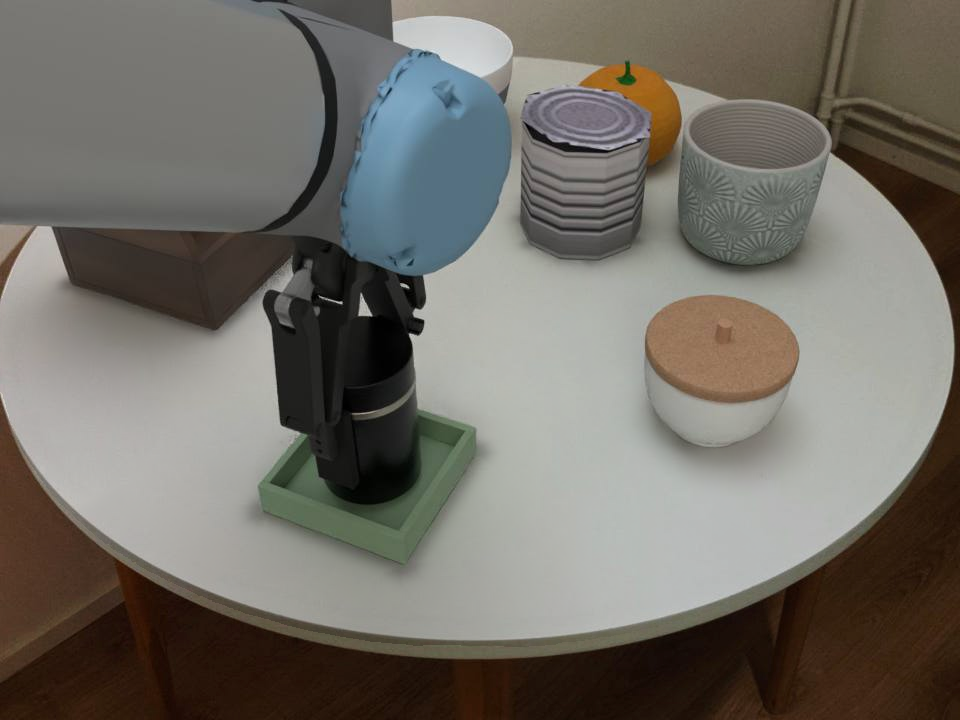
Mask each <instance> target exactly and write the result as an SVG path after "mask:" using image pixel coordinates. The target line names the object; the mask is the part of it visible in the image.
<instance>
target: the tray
mask: <svg viewBox="0 0 960 720" xmlns="http://www.w3.org/2000/svg"><path fill="white" fill-rule="evenodd" d="M417 409H418V423H419V436H420V450H421V472H420V475H419V477H418V479H417V481H416V483H415V484H414V485H413V486H412V487H411V488H410V489H409V490H408V491H407V492H406V493H404V494H403V495H401V496H400V497H398V498H396V499H394V500H391V501H388V502H385V503H381V504H374V505H361V504H354V503H350V502H347V501H345V500H342V499H341V498H339V497H337V496H336V495H335V494H333V493H332V492H331V491H330V490H329V489H328V487H327V486H326V484H325V482H324V480H323V478H320V477H319V475H318V469H317V463H316V458H315V455H314V454H313V453H312V452H311V448H310V442H309V441H310V440H309V436H308V435H306V434H303V433H300V434H299V435H298V436H297V437H296V438H295V440H294V441H293V442H292V444H290V445H289V447H288V448H287V449H286V450H285V451H284V453H283V454H282V456H281V457H280V458H279V459H278V461H277V462H275V464H274V465H273V467H271V469H270V470H269V471H268V472H267V474H266V475H265V476H264V477H263V478H262V480H261V481H260V482H259V484H257V490H258V495H259V499H260V500H259V501H260V503H261V508H262V511H263V512H265V513H268V514H271V515H274V516H275V517H279V518H282V519H284V520H286V521H289V522H291V523H295V524H297V525H300V526H302V527H305V528H308V529H310V530H312V531H315V532H317V533H321V534H323V535H326V536H328V537H331V538H333V539H336V540H339V541H341V542H345V543H346V544H349V545H352V546H355V547H357V548H360V549H363V550H365V551H368V552H371V553H373V554H376V555H378V556H381V557H384V558H386V559H389V560H391V561H394V562H397V563H399V564H402V565H405V564H406V563H407V562H408V560H409V558H410V557H411V555H412V553H413V552H414V551H415V549H416V547H417V546H418V544H419V543H420V541H421V540H422V538H423V536H424V535H425V533H426V532H427V530H428V529H429V528H430V525H431V524H432V523H433V521H434V519H435V518H436V516H437V515H438V514H439V511H440V510H441V508H442V507H443V506H444V503H445V502H446V501H447V499H448V498H449V496H450V494H451V492H452V491H453V490H454V488H455V486H456V485H457V484H458V483H459V481H460V479H461V478H462V476H463V474H464V473H465V471H466V470H467V468H468V467H469V465H470V463H471V462H472V461H473V459H474V457H475V456H476V454H477V427H475V426H472V425H469V424H466V423H462V422H459V421H456V420H453V419H450V418H447V417H444V416H441V415H438V414H435V413H432V412H429V411H425V410H423V409H420V408H417Z"/></svg>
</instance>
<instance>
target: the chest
mask: <svg viewBox="0 0 960 720" xmlns="http://www.w3.org/2000/svg"><path fill="white" fill-rule="evenodd" d="M50 227H51V230H52V233H53V236H54V238H55V241H56V245H57V247H58V250H59V253H60V257H61V259H62V262H63V265H64V269H65V271H66V274H67V277H68V280H69V283H70V285H72V286H73V285H74V286H76V287H80V288H82V289H86V290H89V291H91V292H94V293H98V294H101V295H105V296H107V297H110V298H113V299H116V300H120V301H123V302H126V303H130V304H133V305H136V306H138V307H142V308H145V309H148V310H151V311H154V312H157V313H160V314H163V315H167V316H170V317H174V318H175V319H179V320H182V321H185V322H188V323H192V324H194V325H198V326H201V327H204V328H208V329H211V330H214V331H217V330H218V329H219V328H220V327H221V326H222V325H223V324H224V323H225V322H226V321H227V320H228V319H229V318H230V317H231V316H233V314H234V313H235V312H237V310H238V309H239V308H240V307H241V306H242V305H243V304H244V303H245V302H247V300H248V299H249V298H250V297H251V296H253V294H254V293H255V292H256V291H257V290H259V288H260V287H262V285H263V284H264V283H266V281H267V280H268V279H269V278H270V277H271V276H272V275H274V274H275V273H276V272H277V270H279V269H280V268H281V267H282V266H283V265H284V264H285V263H286V261H288V260H289V259H290V258H292V257H293V240H292V239H291V237H290V236H289V235H276V234H261V233H237V232H206V231H190V233H191V235H192V237H193V239H194V241H195V243H196V245H197V247H198V249H199V251H200V253H201V255H202V256H201V258H200V259H199V260H198V262H197V263H193V262H190V261H186V260H183V259H179V258H176V257H173V256H169V255H166V254H163V253H159V252H156V251H153V250H149V249H146V248H143V247H139V246H136V245H132V244H129V243H126V242H122V241H119V240H116V239H112V238H109V237H106V236H102V235H99V234H96V233H92V232H89V231H85V230H82V229H79V228H75V227H53V226H50Z"/></svg>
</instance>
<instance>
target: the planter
mask: <svg viewBox="0 0 960 720" xmlns="http://www.w3.org/2000/svg"><path fill="white" fill-rule="evenodd" d="M682 133H683V134H682V140H681V141H682V142H681V143H682V145H681V151H680V163H679V175H678V186H677V187H678V188H677V216H678V223H679V227H680V229H681V232H682V234H683V236H684V237H685V238H686V241H688V243H689V244H690V245H691V246H692V247H693V248H695V250H697V251H699V252H700V253H702V254H703V255H705V256H707V257H709V258H711V259H714V260H717V261H719V262H723V263H727V264H731V265H740V266H741V265H742V266H755V265H756V266H757V265H762V264H768V263H771V262H774V261H777V260H779V259H782V258H783V257H786V256H787V255H788V254H790V253H791V252H792V251H794V249H795V248H796V247H797V246H798V245H799V244H800V242H801V240H802V239H803V237H804V235H805V234H806V231H807V229H808V226H809V225H810V221H811V219H812V216H813V213H814V209H815V206H816V203H817V200H818V197H819V194H820V190H821V186H822V182H823V179H824V175H825V172H826V169H827V164H828V161H829V156H830V153H831V150H832V144H833V141H832V136H831V134H830V132H829V130H828V129H827V127H826V126H825V125H824V124H823V123H822V122H821V121H820V120H818V119H817V118H816V117H814V116H813V115H811V114H810V113H808V112H806V111H804V110H801V109H800V108H797V107H794V106H791V105H788V104H784V103H782V102H781V103H780V102H776V101H770V100H765V99H754V98H746V99H745V98H739V99H738V98H736V99H728V100H727V99H726V100H722V101H717V102H713V103H710V104H707V105H705V106H702V107H700V108H698V109H697V110H696V111H694V112H693V113H692V114H690V115H689V117H688V118H687V119H686V120H685V123H684V125H683V131H682Z"/></svg>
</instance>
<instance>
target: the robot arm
mask: <svg viewBox="0 0 960 720" xmlns="http://www.w3.org/2000/svg"><path fill="white" fill-rule="evenodd" d="M392 7H393V5H392V0H0V226H27V227H51V226H53V227H83V228H114V229H145V230H175V231H206V232H237V233H261V234H276V235H289V236H290V237H291V239H292V240H293V255H292V256H291V271H292V274H293V276H292V277H291V279H290V280H289V282H288V283H287V285H286V286H285V287H284V289H283V290H282V291H280V290H276V289H272V288H270V289H268V290H267V291H266V292H265V293H264V295H263V298H262V307H263V310H264V313H265V315H266V317H267V320H268V322H269V325H270V327H271V338H272V339H271V340H272V349H273V361H274V371H275V383H276V391H277V392H276V394H277V404H278V405H277V406H278V415H279V423H280V424H279V425H280V427H284V428H286V429H288V430H292V431H295V432H297V433H300V434H301V433H303V434H306V435H308V436H309V440H310V441H309V442H310V448H311V452H312V453H313V454H314V455H315V458H316V463H317V469H318V475H319V477H320V478H323V479H326V480H329V481H331V482H334V483H337V484H340V485H342V486H345V487H348V488H351V489H355V488H356V486H357V485H358V483H359V482H360V481H359V473H358V466H357V458H356V451H355V443H354V436H353V428H352V421H351V414H350V412H349V411H346V410H343V409H342V402H343V392H344V382H345V371H346V361H347V351H348V341H349V331H350V322H351V321H352V320H354V319H356V318H357V317H358V316H359V314H360V307H361V306H360V305H361V296H362V298H363V300H364V302H365V304H366V306H367V308H368V310H369V312H370V314H371V316H374V317H380V318H384V319H387V320H390V321H392V322H394V323H396V324H397V325H399V326H400V327H402V328H403V329H404V330H405V331H406V332H407V333H408V335H409V336H410V334H411V335H414V336H417V337H418V336H421V335H422V333H423V331H424V328H425V323H426V321H425V319H423V318H420V317H417V316H416V317H415V315H414V312H415V311H416V310H418V311H421V310H423V309H424V306H426V304H427V303H426V302H427V292H426V291H427V290H426V286H425V279H424V276H426V275H430V274H433V273H436V272H438V271H440V270H442V269H444V268H445V267H448V266H449V265H451V264H454V262H456V261H457V260H459V259H460V258H462V256H463V255H464V254H466V252H467V251H469V250H470V249H471V247H472V246H473V245H474V244H475V243H476V242H477V241H478V239H479V238H480V236H482V234H483V232H484V231H485V229H486V228H487V226H488V225H489V223H490V222H491V220H492V218H493V216H494V214H495V212H496V210H497V208H498V206H499V204H500V196H501V194H502V192H503V188H504V185H505V182H506V180H507V178H508V175H509V173H510V166H511V160H512V148H513V147H512V146H513V142H512V141H513V139H512V138H513V137H512V127H511V122H510V119H509V115H508V112H507V108H506V106H505V104H503V102H502V100H501V98H500V97H499V96H498V94H497V93H496V92H495V90H494V89H493V88H492V87H491V86H490V85H489V84H488V83H487V82H486V81H484V80H483V79H481V78H480V77H478V76H476V75H474V74H472V73H470V72H467V71H465V70H463V69H461V68H458V67H456V66H454V65H452V64H449V63H447V62H445V61H443V60H441V59H440V57H439V55H438V54H435V53H433V52H430V51H427V50H426V51H423V50H421V49H412V48H409V47H406V46H404V45H401V44H399V43H396V42H393V23H392V22H393V8H392ZM402 285H405V286H407V287H405V286H402ZM340 302H342V303H340Z"/></svg>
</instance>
